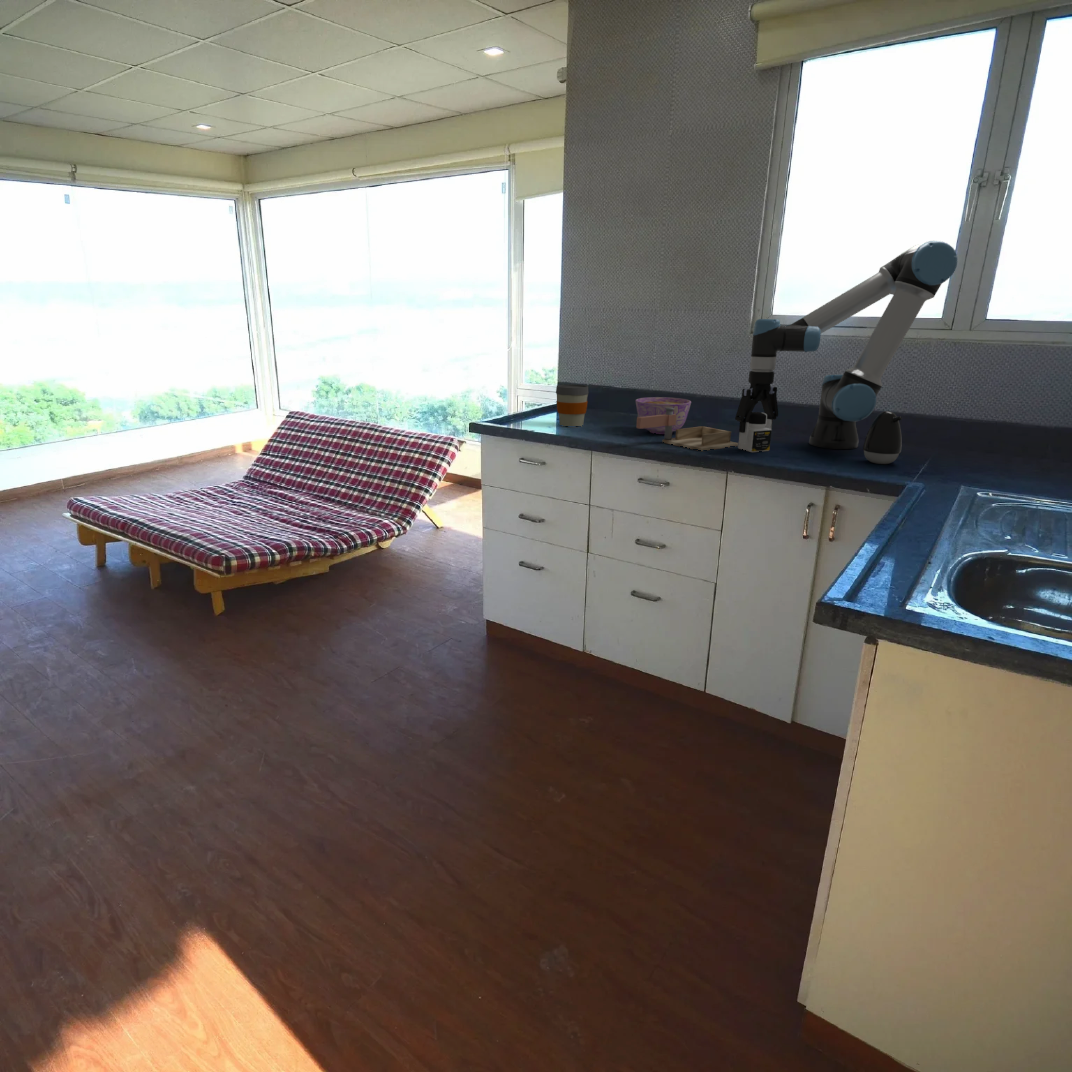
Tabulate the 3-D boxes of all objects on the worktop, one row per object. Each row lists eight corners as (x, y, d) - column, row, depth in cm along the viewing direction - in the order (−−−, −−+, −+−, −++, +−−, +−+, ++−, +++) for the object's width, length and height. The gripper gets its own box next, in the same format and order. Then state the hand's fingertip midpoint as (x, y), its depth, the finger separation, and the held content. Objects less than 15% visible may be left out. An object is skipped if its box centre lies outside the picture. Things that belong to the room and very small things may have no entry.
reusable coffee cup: (550, 423, 271) (551, 384, 266) (580, 422, 275) (581, 383, 270) (561, 428, 260) (562, 388, 255) (592, 427, 263) (593, 387, 259)
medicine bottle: (751, 452, 219) (755, 414, 215) (737, 448, 225) (741, 411, 221) (769, 451, 221) (774, 413, 218) (755, 447, 228) (759, 410, 224)
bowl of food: (690, 438, 243) (693, 404, 239) (633, 436, 246) (634, 403, 242) (687, 428, 261) (690, 397, 258) (634, 427, 264) (636, 396, 261)
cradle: (737, 446, 229) (739, 432, 228) (701, 451, 220) (702, 437, 219) (698, 437, 243) (699, 424, 242) (662, 442, 235) (663, 429, 233)
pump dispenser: (878, 467, 200) (886, 414, 195) (853, 459, 209) (861, 409, 205) (907, 465, 203) (916, 413, 198) (881, 458, 212) (889, 408, 207)
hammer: (640, 443, 226) (642, 411, 222) (634, 442, 228) (635, 410, 225) (674, 439, 234) (676, 408, 230) (668, 437, 236) (670, 407, 233)
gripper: (776, 368, 224) (768, 435, 231) (727, 371, 212) (720, 442, 219) (795, 369, 218) (787, 439, 225) (746, 373, 206) (739, 446, 213)
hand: (754, 440), depth 222 cm, fingers open, 10 cm apart
